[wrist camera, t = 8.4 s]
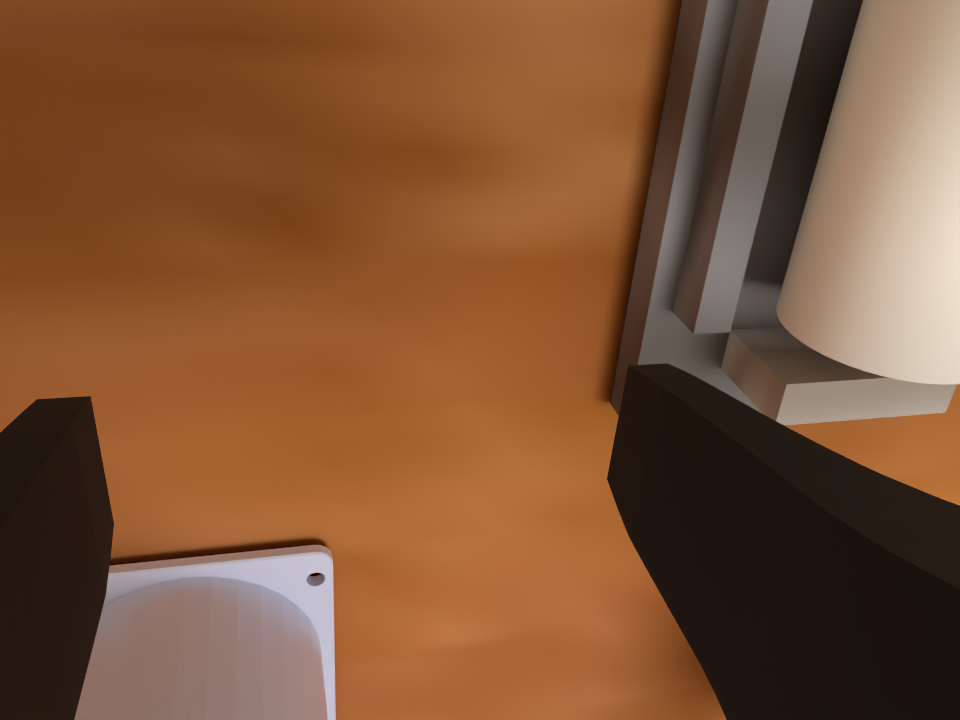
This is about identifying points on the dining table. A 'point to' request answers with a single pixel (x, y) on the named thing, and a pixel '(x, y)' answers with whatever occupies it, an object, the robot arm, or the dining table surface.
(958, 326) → the paper roll
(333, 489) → the dining table surface
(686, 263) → the roll cradle
